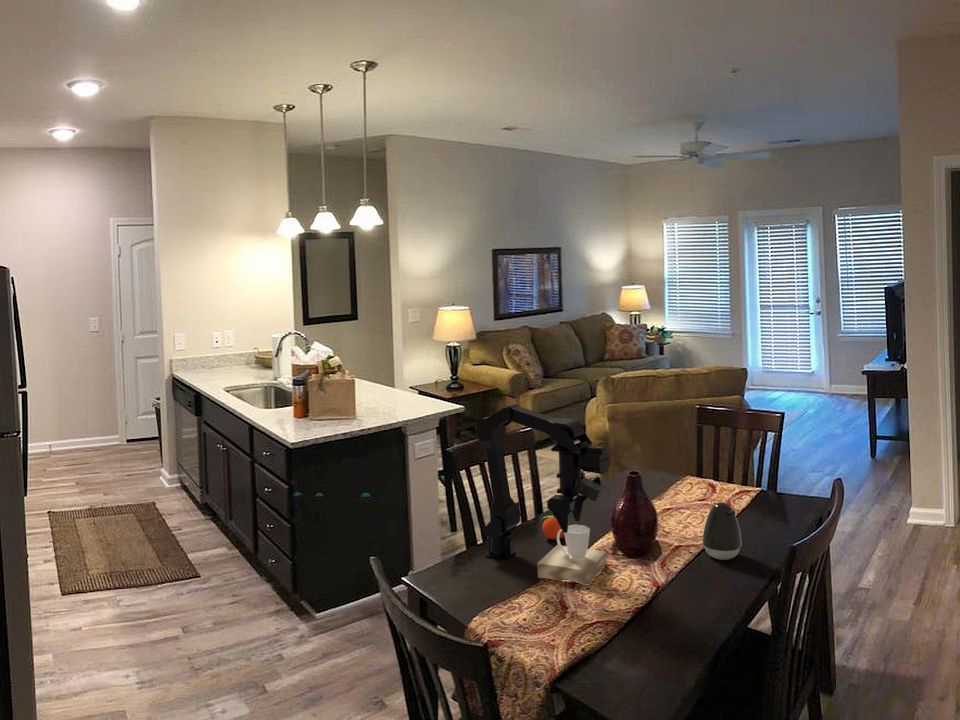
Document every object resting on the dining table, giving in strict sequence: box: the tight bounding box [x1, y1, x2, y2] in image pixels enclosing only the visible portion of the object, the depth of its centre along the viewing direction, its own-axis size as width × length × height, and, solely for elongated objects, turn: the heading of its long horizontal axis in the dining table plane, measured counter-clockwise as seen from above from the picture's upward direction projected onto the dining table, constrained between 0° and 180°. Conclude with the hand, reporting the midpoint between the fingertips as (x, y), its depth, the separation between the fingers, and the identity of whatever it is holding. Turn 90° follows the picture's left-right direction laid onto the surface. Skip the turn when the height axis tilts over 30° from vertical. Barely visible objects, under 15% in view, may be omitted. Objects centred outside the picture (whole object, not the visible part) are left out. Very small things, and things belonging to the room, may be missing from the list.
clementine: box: [540, 515, 565, 541], centre depth 234 cm, size 8×7×7 cm
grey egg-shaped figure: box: [702, 501, 743, 561], centre depth 215 cm, size 10×10×15 cm
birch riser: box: [536, 544, 607, 585], centre depth 210 cm, size 14×14×4 cm
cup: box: [556, 524, 591, 561], centre depth 209 cm, size 7×10×8 cm
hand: (571, 526), depth 208 cm, fingers open, 9 cm apart
